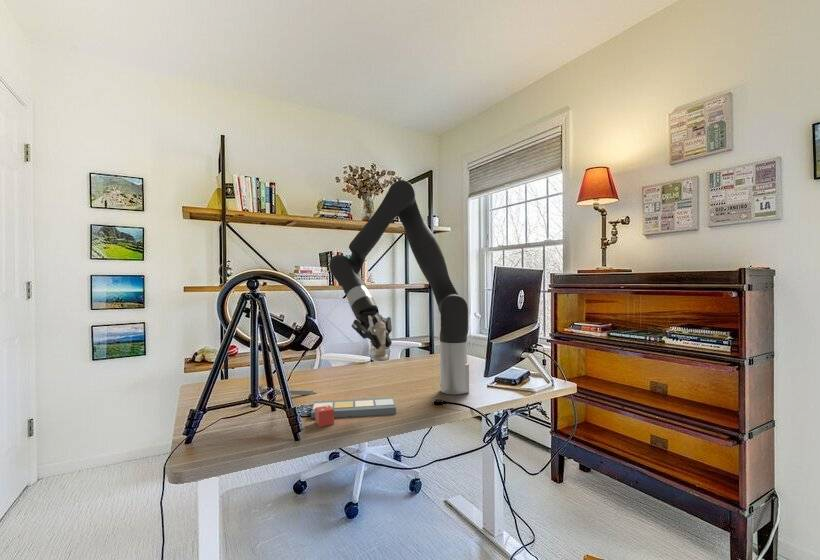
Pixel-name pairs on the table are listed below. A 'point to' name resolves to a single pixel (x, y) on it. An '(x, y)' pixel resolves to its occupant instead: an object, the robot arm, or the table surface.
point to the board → (358, 407)
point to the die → (324, 415)
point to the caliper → (294, 392)
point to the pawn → (380, 333)
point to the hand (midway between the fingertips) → (384, 346)
